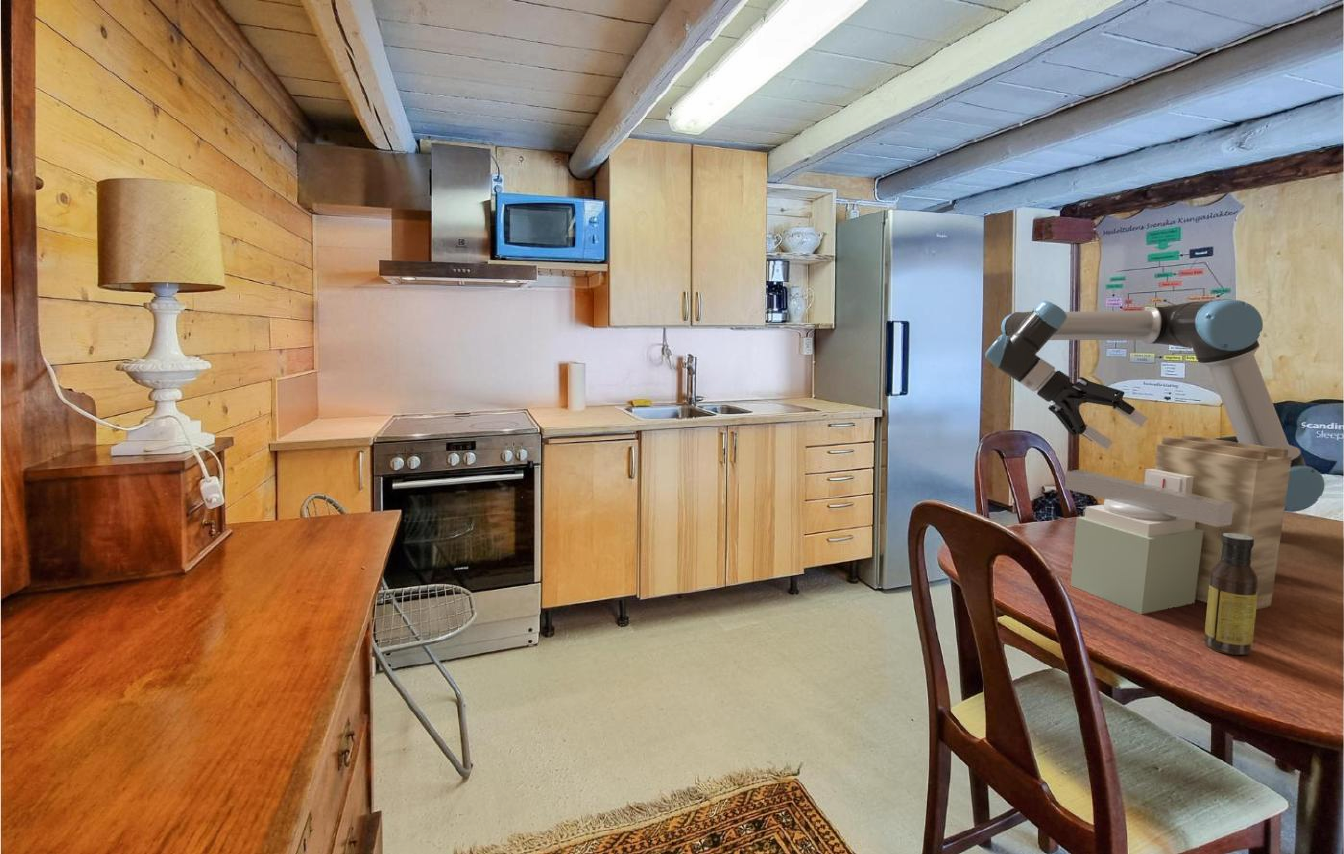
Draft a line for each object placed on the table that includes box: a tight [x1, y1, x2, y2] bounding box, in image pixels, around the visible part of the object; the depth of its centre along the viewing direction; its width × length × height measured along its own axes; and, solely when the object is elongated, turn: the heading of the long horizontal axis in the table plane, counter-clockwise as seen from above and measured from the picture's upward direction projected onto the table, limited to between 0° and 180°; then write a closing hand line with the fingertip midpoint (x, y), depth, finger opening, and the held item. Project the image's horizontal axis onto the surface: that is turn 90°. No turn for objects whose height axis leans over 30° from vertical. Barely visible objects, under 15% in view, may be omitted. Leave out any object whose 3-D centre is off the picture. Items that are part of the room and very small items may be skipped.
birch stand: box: [1154, 434, 1292, 611], centre depth 131 cm, size 18×10×32 cm, turn 19°
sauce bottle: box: [1204, 533, 1258, 656], centre depth 109 cm, size 6×6×20 cm
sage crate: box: [1070, 516, 1203, 615], centre depth 132 cm, size 15×15×15 cm
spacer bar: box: [1064, 469, 1234, 527], centre depth 130 cm, size 30×4×4 cm, turn 20°
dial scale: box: [1084, 468, 1195, 537], centre depth 130 cm, size 13×15×10 cm
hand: (1126, 434), depth 153 cm, fingers open, 13 cm apart
